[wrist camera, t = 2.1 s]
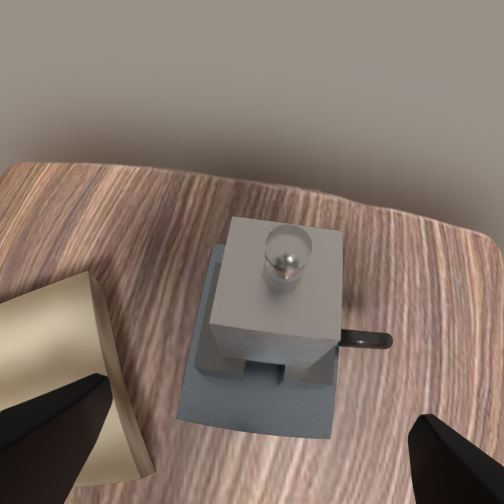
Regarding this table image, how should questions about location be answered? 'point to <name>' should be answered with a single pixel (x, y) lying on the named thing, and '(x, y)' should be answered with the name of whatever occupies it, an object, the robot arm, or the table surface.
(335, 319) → the gray knob block
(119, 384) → the beige wooden slab
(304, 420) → the gray stepped fixture
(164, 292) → the table surface
